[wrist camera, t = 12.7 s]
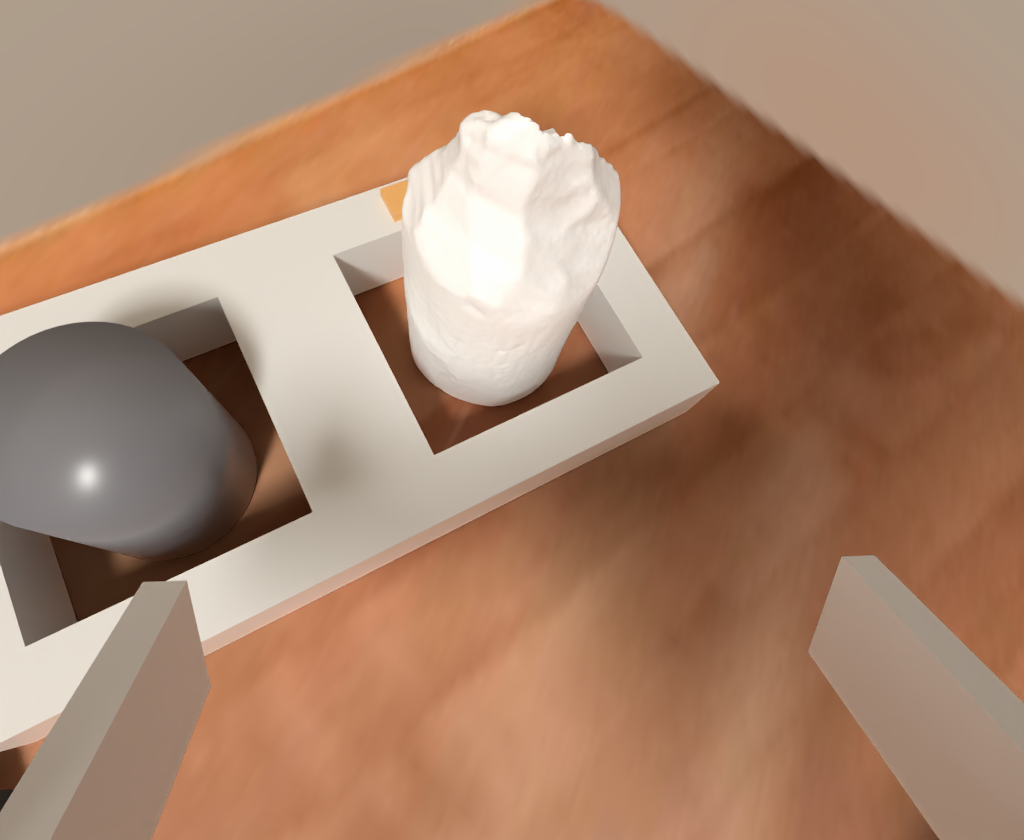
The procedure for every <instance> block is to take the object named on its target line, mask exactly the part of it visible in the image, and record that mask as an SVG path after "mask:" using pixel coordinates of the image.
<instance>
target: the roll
mask: <svg viewBox="0 0 1024 840" xmlns="http://www.w3.org/2000/svg"><path fill="white" fill-rule="evenodd" d="M620 203H621V193H620V181H619V176H618V173H617V171H616V170H615V169H613V166H612V165H611V164H610V163H607V162H606V161H605V159H604V158H602V157H601V158H600V157H599V154H598V152H597V149H596V148H595V147H592V145H591V144H585V143H583V142H580V143H578V142H577V141H576V140H575V139H574V137H573V136H572V134H570V133H567V134H565V136H559V135H558V134H557V133H553V134H551V133H545V132H542V131H541V130H540V129H539V125H538V124H537V123H535V122H534V121H532V120H531V119H530V118H528V117H523V116H522V115H520V114H519V113H517V112H510V113H509V114H507V115H504V116H502V115H499V114H498V113H495V112H492V111H488V110H483V111H480V112H476V113H472V114H470V115H468V116H467V117H466V118H465V119H464V120H463V121H462V122H461V124H460V127H459V131H458V133H457V134H456V137H455V138H453V139H452V140H451V141H450V142H449V144H447V145H445V146H443V147H441V148H439V149H437V150H435V151H434V152H433V153H431V154H429V155H428V156H426V157H425V158H423V159H422V160H421V161H420V162H418V163H416V164H415V165H414V166H413V167H412V168H411V169H410V170H409V173H408V186H407V190H406V194H405V196H404V199H403V205H402V256H403V264H404V287H405V297H406V303H407V319H408V326H409V337H410V345H411V352H412V356H413V359H414V362H415V364H416V365H417V367H418V368H419V370H420V371H421V372H422V374H423V375H424V376H425V377H426V378H427V379H428V380H429V381H430V382H431V383H433V385H434V386H436V387H438V388H440V389H441V390H442V391H444V392H445V393H447V394H449V395H451V396H453V397H455V398H458V399H460V400H463V401H467V402H469V403H473V404H477V405H483V406H499V405H505V404H508V403H511V402H514V401H517V400H519V399H522V398H524V397H526V396H527V395H529V394H530V393H532V392H533V391H535V390H536V389H537V388H538V387H540V385H541V384H542V383H544V381H545V380H546V379H547V377H548V376H549V375H550V374H551V372H552V370H553V368H554V367H555V364H556V361H557V359H558V357H559V355H560V352H561V350H562V348H563V346H564V344H565V342H566V340H567V338H568V336H569V334H570V332H571V330H572V328H573V327H574V325H575V324H576V322H577V320H578V318H579V316H580V314H581V312H582V310H583V308H584V306H585V304H586V303H587V301H588V299H589V297H590V296H591V294H592V293H593V291H594V289H595V287H596V285H597V283H598V281H599V279H600V277H601V275H602V273H603V271H604V268H605V266H606V264H607V261H608V258H609V254H610V251H611V248H612V244H613V241H614V238H615V235H616V230H617V224H618V218H619V214H620Z"/></svg>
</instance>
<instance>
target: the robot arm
mask: <svg viewBox="0 0 1024 840" xmlns="http://www.w3.org/2000/svg"><path fill="white" fill-rule="evenodd" d="M808 653H809V654H810V656H811V657H812V659H813V660H814V661H815V663H816V664H817V666H818V667H819V669H820V670H821V671H822V673H823V674H824V676H825V677H826V679H827V680H828V681H829V683H830V684H831V686H832V687H833V689H834V690H835V691H836V693H837V694H838V696H839V697H840V699H841V700H842V701H843V703H844V704H845V706H846V707H847V709H848V710H849V711H850V713H851V714H852V716H853V717H854V718H855V720H856V721H857V723H858V724H859V726H860V727H861V728H862V730H863V731H864V733H865V734H866V736H867V737H868V738H869V740H870V741H871V743H872V744H873V746H874V747H875V748H876V750H877V751H878V753H879V754H880V756H881V757H882V758H883V760H884V761H885V763H886V764H887V766H888V767H889V768H890V770H891V771H892V773H893V774H894V776H895V777H896V778H897V780H898V781H899V783H900V784H901V786H902V787H903V788H904V790H905V791H906V793H907V794H908V796H909V797H910V798H911V800H912V801H913V803H914V804H915V806H916V807H917V808H918V810H919V811H920V813H921V814H922V815H923V817H924V818H925V820H926V821H927V823H928V824H929V825H930V827H931V828H932V830H933V831H934V833H935V834H936V835H937V837H938V838H939V840H1024V703H1023V702H1022V701H1021V700H1020V699H1019V698H1018V697H1017V696H1016V695H1015V694H1014V693H1013V692H1012V691H1011V690H1010V689H1009V688H1008V687H1007V686H1006V685H1005V684H1004V683H1003V682H1002V681H1001V680H1000V679H999V678H998V677H997V676H996V675H995V674H994V673H993V672H992V671H991V670H990V669H989V668H988V667H987V666H986V665H985V664H984V663H983V662H982V661H981V660H980V659H979V658H978V657H977V656H976V655H975V654H974V653H973V652H972V651H971V650H969V649H968V648H967V647H966V646H965V645H964V644H963V643H962V642H961V641H960V640H959V639H958V638H957V637H956V636H955V635H954V634H953V633H952V632H951V631H950V630H949V629H948V628H947V627H946V626H945V625H944V624H943V623H942V622H941V621H940V620H939V619H938V618H937V617H936V616H935V615H934V614H933V613H932V612H931V611H930V610H929V609H928V608H927V607H926V606H925V605H924V604H923V603H922V602H921V601H920V600H919V599H918V598H917V597H916V596H915V595H914V594H913V593H912V592H911V591H910V590H909V589H908V588H907V587H906V586H905V585H904V584H903V583H902V582H901V581H900V580H899V579H898V578H897V577H896V576H895V575H894V574H893V573H892V572H891V571H890V570H889V569H888V568H887V567H886V566H885V565H884V564H883V563H882V562H881V561H880V560H879V559H878V558H877V557H876V556H875V555H868V556H841V559H840V562H839V565H838V568H837V571H836V573H835V576H834V579H833V582H832V585H831V588H830V591H829V593H828V596H827V599H826V602H825V605H824V608H823V610H822V613H821V616H820V619H819V622H818V625H817V628H816V630H815V633H814V636H813V639H812V642H811V645H810V648H809V650H808ZM210 687H211V684H210V680H209V675H208V671H207V667H206V662H205V658H204V654H203V649H202V645H201V640H200V636H199V632H198V627H197V623H196V618H195V614H194V610H193V605H192V601H191V597H190V592H189V588H188V583H187V580H183V581H156V582H142V584H141V586H140V587H139V589H138V590H137V592H136V594H135V595H134V597H133V599H132V600H131V602H130V603H129V605H128V607H127V608H126V610H125V611H124V613H123V615H122V616H121V618H120V620H119V621H118V623H117V624H116V626H115V628H114V629H113V631H112V632H111V634H110V636H109V637H108V639H107V641H106V642H105V644H104V645H103V647H102V649H101V650H100V652H99V653H98V655H97V657H96V658H95V660H94V661H93V663H92V665H91V666H90V668H89V670H88V671H87V673H86V674H85V676H84V678H83V679H82V681H81V682H80V684H79V686H78V687H77V689H76V691H75V692H74V694H73V695H72V697H71V699H70V700H69V702H68V703H67V705H66V707H65V708H64V710H63V712H62V713H61V715H60V716H59V718H58V720H57V721H56V723H55V724H54V726H53V728H52V729H51V731H50V732H49V734H48V736H47V737H46V739H45V741H44V742H43V744H42V745H41V747H40V749H39V750H38V752H37V753H36V755H35V757H34V758H33V760H32V762H31V763H30V765H29V766H28V768H27V770H26V771H25V773H24V774H23V776H22V778H21V779H20V781H19V783H18V784H17V786H16V787H15V789H14V790H1V791H0V840H152V837H153V834H154V832H155V829H156V827H157V824H158V822H159V819H160V816H161V814H162V811H163V809H164V806H165V803H166V801H167V798H168V796H169V793H170V791H171V788H172V785H173V783H174V780H175V778H176V775H177V772H178V770H179V767H180V765H181V762H182V760H183V757H184V754H185V752H186V749H187V747H188V744H189V741H190V739H191V736H192V734H193V731H194V729H195V726H196V723H197V721H198V718H199V716H200V713H201V710H202V708H203V705H204V703H205V700H206V698H207V695H208V692H209V690H210Z"/></svg>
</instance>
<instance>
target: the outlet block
mask: <svg viewBox="0 0 1024 840" xmlns="http://www.w3.org/2000/svg"><path fill="white" fill-rule="evenodd" d="M543 132H545V133H551V134H553V133H556V131H555V130H554V128H551V129H548V130H545V131H543ZM407 186H408V177H407V178H404V179H401V180H398V181H395V182H393V183H390V184H387V185H384V186H381V187H378V188H375V189H372V190H369V191H366V192H363V193H360V194H357V195H354V196H351V197H348V198H345V199H343V200H340V201H337V202H334V203H331V204H328V205H325V206H322V207H319V208H316V209H313V210H310V211H307V212H304V213H301V214H298V215H295V216H293V217H290V218H287V219H284V220H281V221H278V222H275V223H272V224H269V225H266V226H263V227H260V228H257V229H254V230H251V231H248V232H245V233H243V234H240V235H237V236H234V237H231V238H228V239H225V240H222V241H219V242H216V243H213V244H210V245H207V246H204V247H201V248H198V249H196V250H193V251H190V252H187V253H184V254H181V255H178V256H175V257H172V258H169V259H166V260H163V261H160V262H157V263H154V264H151V265H148V266H146V267H143V268H140V269H137V270H134V271H131V272H128V273H125V274H122V275H119V276H116V277H113V278H110V279H107V280H104V281H101V282H98V283H96V284H93V285H90V286H87V287H84V288H81V289H78V290H75V291H72V292H69V293H66V294H63V295H60V296H57V297H54V298H51V299H48V300H46V301H43V302H40V303H37V304H34V305H31V306H28V307H25V308H22V309H19V310H16V311H13V312H10V313H7V314H4V315H1V316H0V752H1V751H5V750H8V749H12V748H16V747H20V746H23V745H27V744H31V743H34V742H36V741H38V740H40V739H42V738H44V737H46V736H48V734H49V732H50V731H51V729H52V728H53V726H54V724H55V723H56V721H57V720H58V718H59V716H60V715H61V713H62V712H63V710H64V708H65V707H66V705H67V703H68V702H69V700H70V699H71V697H72V695H73V694H74V692H75V691H76V689H77V687H78V686H79V684H80V682H81V681H82V679H83V678H84V676H85V674H86V673H87V671H88V670H89V668H90V666H91V665H92V663H93V661H94V660H95V658H96V657H97V655H98V653H99V652H100V650H101V649H102V647H103V645H104V644H105V642H106V641H107V639H108V637H109V636H110V634H111V632H112V631H113V629H114V628H115V626H116V624H117V623H118V621H119V620H120V618H121V616H122V615H123V613H124V611H125V610H126V608H127V607H128V605H129V603H130V602H131V600H132V599H133V597H134V596H133V597H131V598H128V599H126V600H124V601H122V602H120V603H118V604H116V605H113V606H111V607H109V608H107V609H105V610H103V611H101V612H99V613H96V614H94V615H92V616H90V617H88V618H86V619H84V620H81V621H79V622H77V619H76V616H75V613H74V610H73V607H72V604H71V601H70V598H69V595H68V592H67V589H66V585H65V582H64V579H63V576H62V573H61V570H60V567H59V564H58V561H57V558H56V555H55V552H54V549H53V545H52V542H51V539H50V536H54V537H58V538H62V539H66V540H69V541H73V542H77V543H81V544H85V545H89V546H93V547H97V548H100V549H104V550H108V551H112V552H116V553H120V554H124V555H128V556H131V557H135V558H139V559H146V560H170V559H177V558H181V557H184V556H188V555H191V554H193V553H196V552H198V551H201V550H203V549H205V548H206V547H208V546H210V545H212V544H213V543H215V542H216V541H218V540H219V539H220V538H222V537H223V536H224V535H225V534H226V533H227V532H229V531H230V530H231V528H232V527H233V526H234V525H235V524H236V523H237V522H238V521H239V519H240V518H241V516H242V515H243V513H244V512H245V510H246V508H247V506H248V505H249V503H250V500H251V498H252V495H253V492H254V488H255V484H256V478H257V461H256V455H255V451H254V448H253V445H252V442H251V441H250V439H249V437H248V435H247V433H246V432H245V431H244V429H243V428H242V427H241V425H240V424H239V423H238V422H237V421H236V420H235V419H234V418H233V417H232V416H231V415H230V414H229V412H228V411H227V410H226V409H225V408H224V407H223V406H222V405H221V404H220V403H219V402H218V401H217V400H216V398H215V397H214V396H213V395H212V394H211V393H210V392H209V391H208V390H207V389H206V388H205V387H204V386H203V384H202V383H201V382H200V381H199V380H198V379H197V378H196V377H195V376H194V375H193V374H192V373H191V372H190V370H189V369H188V368H187V367H186V366H185V365H184V364H183V363H182V361H185V360H187V359H190V358H193V357H195V356H198V355H200V354H203V353H206V352H208V351H211V350H213V349H216V348H219V347H221V346H224V345H227V344H229V343H232V342H234V341H237V342H238V344H239V346H240V349H241V351H242V353H243V355H244V358H245V360H246V362H247V365H248V367H249V369H250V371H251V374H252V376H253V378H254V380H255V383H256V385H257V387H258V389H259V392H260V394H261V396H262V399H263V401H264V403H265V405H266V408H267V410H268V412H269V414H270V417H271V419H272V421H273V423H274V426H275V428H276V430H277V432H278V435H279V437H280V439H281V442H282V444H283V446H284V448H285V451H286V453H287V455H288V457H289V460H290V462H291V464H292V466H293V469H294V471H295V473H296V475H297V478H298V480H299V482H300V485H301V487H302V489H303V491H304V494H305V496H306V498H307V500H308V503H309V505H310V507H311V509H312V513H310V514H308V515H305V516H303V517H301V518H299V519H297V520H295V521H293V522H291V523H288V524H286V525H284V526H282V527H280V528H278V529H276V530H273V531H271V532H269V533H267V534H265V535H263V536H261V537H259V538H256V539H254V540H252V541H250V542H248V543H246V544H244V545H241V546H239V547H237V548H235V549H233V550H231V551H229V552H227V553H224V554H222V555H220V556H218V557H216V558H214V559H212V560H209V561H207V562H205V563H203V564H201V565H199V566H197V567H195V568H192V569H190V570H188V571H186V572H184V573H182V574H180V575H177V576H175V577H173V578H171V579H169V580H167V581H183V580H187V583H188V588H189V592H190V597H191V601H192V605H193V610H194V614H195V618H196V623H197V627H198V632H199V636H200V640H201V645H202V649H203V654H204V656H206V655H208V654H210V653H212V652H214V651H216V650H218V649H220V648H222V647H224V646H226V645H228V644H230V643H232V642H234V641H236V640H238V639H240V638H242V637H244V636H246V635H248V634H249V633H251V632H253V631H255V630H257V629H259V628H261V627H263V626H265V625H267V624H269V623H271V622H273V621H275V620H277V619H279V618H281V617H283V616H285V615H287V614H289V613H291V612H293V611H295V610H297V609H299V608H301V607H303V606H305V605H307V604H309V603H311V602H313V601H315V600H317V599H319V598H321V597H322V596H324V595H326V594H328V593H330V592H332V591H334V590H336V589H338V588H340V587H342V586H344V585H346V584H348V583H350V582H352V581H354V580H356V579H358V578H360V577H362V576H364V575H366V574H368V573H370V572H372V571H374V570H376V569H378V568H380V567H382V566H384V565H386V564H388V563H390V562H392V561H394V560H395V559H397V558H399V557H401V556H403V555H405V554H407V553H409V552H411V551H413V550H415V549H417V548H419V547H421V546H423V545H425V544H427V543H429V542H431V541H433V540H435V539H437V538H439V537H441V536H443V535H445V534H447V533H449V532H451V531H453V530H455V529H457V528H459V527H461V526H463V525H465V524H467V523H468V522H470V521H472V520H474V519H476V518H478V517H480V516H482V515H484V514H486V513H488V512H490V511H492V510H494V509H496V508H498V507H500V506H502V505H504V504H506V503H508V502H510V501H512V500H514V499H516V498H518V497H520V496H522V495H524V494H526V493H528V492H530V491H532V490H534V489H536V488H538V487H540V486H542V485H543V484H545V483H547V482H549V481H551V480H553V479H555V478H557V477H559V476H561V475H563V474H565V473H567V472H569V471H571V470H573V469H575V468H577V467H579V466H581V465H583V464H585V463H587V462H589V461H591V460H593V459H595V458H597V457H599V456H601V455H603V454H605V453H607V452H609V451H611V450H613V449H615V448H616V447H618V446H620V445H622V444H624V443H626V442H628V441H630V440H632V439H634V438H636V437H638V436H640V435H642V434H644V433H646V432H648V431H650V430H652V429H654V428H656V427H658V426H660V425H662V424H664V423H666V422H668V421H670V420H672V419H674V418H676V417H678V416H680V415H682V414H684V413H686V412H687V411H688V410H690V409H691V408H692V407H693V406H694V405H695V404H696V403H697V402H699V401H700V400H701V399H702V398H703V397H704V396H705V395H707V394H708V393H709V392H710V391H711V390H712V389H713V388H714V387H716V386H717V385H718V384H719V383H720V382H719V380H718V379H717V377H716V376H715V374H714V373H713V371H712V370H711V368H710V367H709V365H708V364H707V362H706V361H705V359H704V358H703V356H702V354H701V353H700V351H699V350H698V348H697V347H696V345H695V344H694V342H693V341H692V339H691V338H690V336H689V335H688V333H687V332H686V330H685V328H684V327H683V325H682V324H681V322H680V321H679V319H678V318H677V316H676V315H675V313H674V312H673V310H672V309H671V307H670V306H669V304H668V303H667V301H666V299H665V298H664V296H663V295H662V293H661V292H660V290H659V289H658V287H657V286H656V284H655V283H654V281H653V280H652V278H651V277H650V275H649V273H648V272H647V270H646V269H645V267H644V266H643V264H642V263H641V261H640V260H639V258H638V257H637V255H636V254H635V252H634V251H633V249H632V247H631V246H630V244H629V243H628V241H627V240H626V238H625V237H624V235H623V234H622V232H621V231H620V229H619V228H618V226H617V230H616V235H615V238H614V241H613V244H612V248H611V251H610V254H609V258H608V261H607V264H606V266H605V268H604V271H603V273H602V275H601V277H600V279H599V281H598V283H597V285H596V287H595V289H594V291H593V293H592V294H591V296H590V297H589V299H588V301H587V303H586V304H585V306H584V308H583V310H582V312H581V314H580V316H579V318H578V320H577V321H578V323H579V324H580V326H581V328H582V329H583V331H584V333H585V334H586V336H587V338H588V339H589V341H590V343H591V344H592V346H593V348H594V349H595V351H596V352H597V354H598V356H599V357H600V359H601V361H602V362H603V364H604V366H605V367H606V369H607V371H608V372H609V373H608V374H606V375H604V376H602V377H600V378H598V379H596V380H593V381H591V382H589V383H587V384H585V385H583V386H581V387H578V388H576V389H574V390H572V391H570V392H568V393H566V394H564V395H561V396H559V397H557V398H555V399H553V400H551V401H549V402H546V403H544V404H542V405H540V406H538V407H536V408H534V409H532V410H529V411H527V412H525V413H523V414H521V415H519V416H517V417H514V418H512V419H510V420H508V421H506V422H504V423H502V424H500V425H497V426H495V427H493V428H491V429H489V430H487V431H485V432H482V433H480V434H478V435H476V436H474V437H472V438H470V439H468V440H465V441H463V442H461V443H459V444H457V445H455V446H453V447H450V448H448V449H446V450H444V451H442V452H440V453H438V454H436V455H434V454H433V452H432V450H431V448H430V446H429V444H428V442H427V440H426V438H425V436H424V434H423V432H422V430H421V428H420V426H419V424H418V422H417V420H416V418H415V416H414V414H413V412H412V410H411V408H410V407H409V405H408V403H407V401H406V399H405V397H404V395H403V393H402V391H401V389H400V387H399V385H398V383H397V381H396V379H395V377H394V375H393V373H392V371H391V369H390V367H389V365H388V363H387V361H386V359H385V357H384V355H383V353H382V351H381V349H380V347H379V345H378V343H377V341H376V339H375V337H374V335H373V333H372V331H371V330H370V328H369V326H368V324H367V322H366V320H365V318H364V316H363V314H362V312H361V310H360V308H359V306H358V304H357V302H356V300H355V298H354V295H357V294H360V293H362V292H365V291H367V290H370V289H373V288H375V287H378V286H380V285H383V284H386V283H388V282H391V281H393V280H396V279H399V278H401V277H404V264H403V256H402V205H403V199H404V196H405V194H406V190H407ZM49 535H50V536H49Z"/></svg>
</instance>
